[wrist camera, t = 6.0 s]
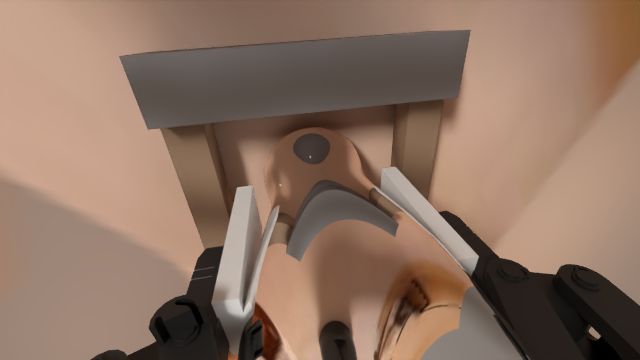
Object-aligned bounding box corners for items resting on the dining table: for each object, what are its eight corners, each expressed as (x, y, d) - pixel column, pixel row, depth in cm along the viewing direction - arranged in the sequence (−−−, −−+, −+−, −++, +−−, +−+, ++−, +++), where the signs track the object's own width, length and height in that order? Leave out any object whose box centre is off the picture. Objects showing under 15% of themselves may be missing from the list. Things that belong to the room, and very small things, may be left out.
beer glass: (387, 152, 17) (771, 543, 4) (328, 230, 19) (449, 638, 6) (291, 95, 14) (511, 717, 1) (237, 194, 17) (119, 768, 4)
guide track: (149, 52, 13) (119, 56, 10) (435, 31, 15) (470, 29, 12) (251, 351, 26) (248, 386, 23) (397, 322, 28) (410, 352, 25)
